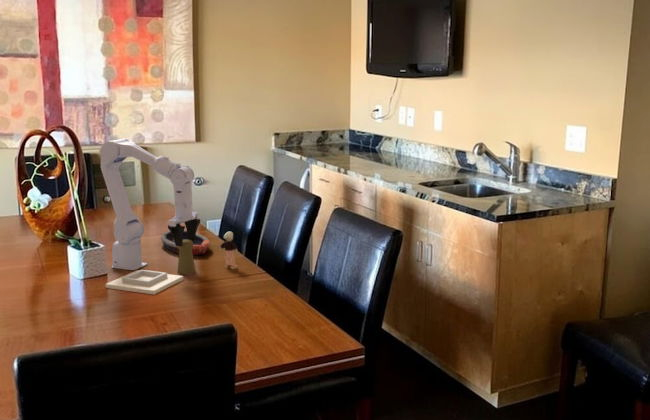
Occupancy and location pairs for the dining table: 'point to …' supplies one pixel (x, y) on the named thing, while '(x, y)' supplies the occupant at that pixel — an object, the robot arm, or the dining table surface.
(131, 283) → the holder board
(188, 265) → the cork
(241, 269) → the dining table surface
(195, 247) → the dish
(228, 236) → the grandmother figurine
